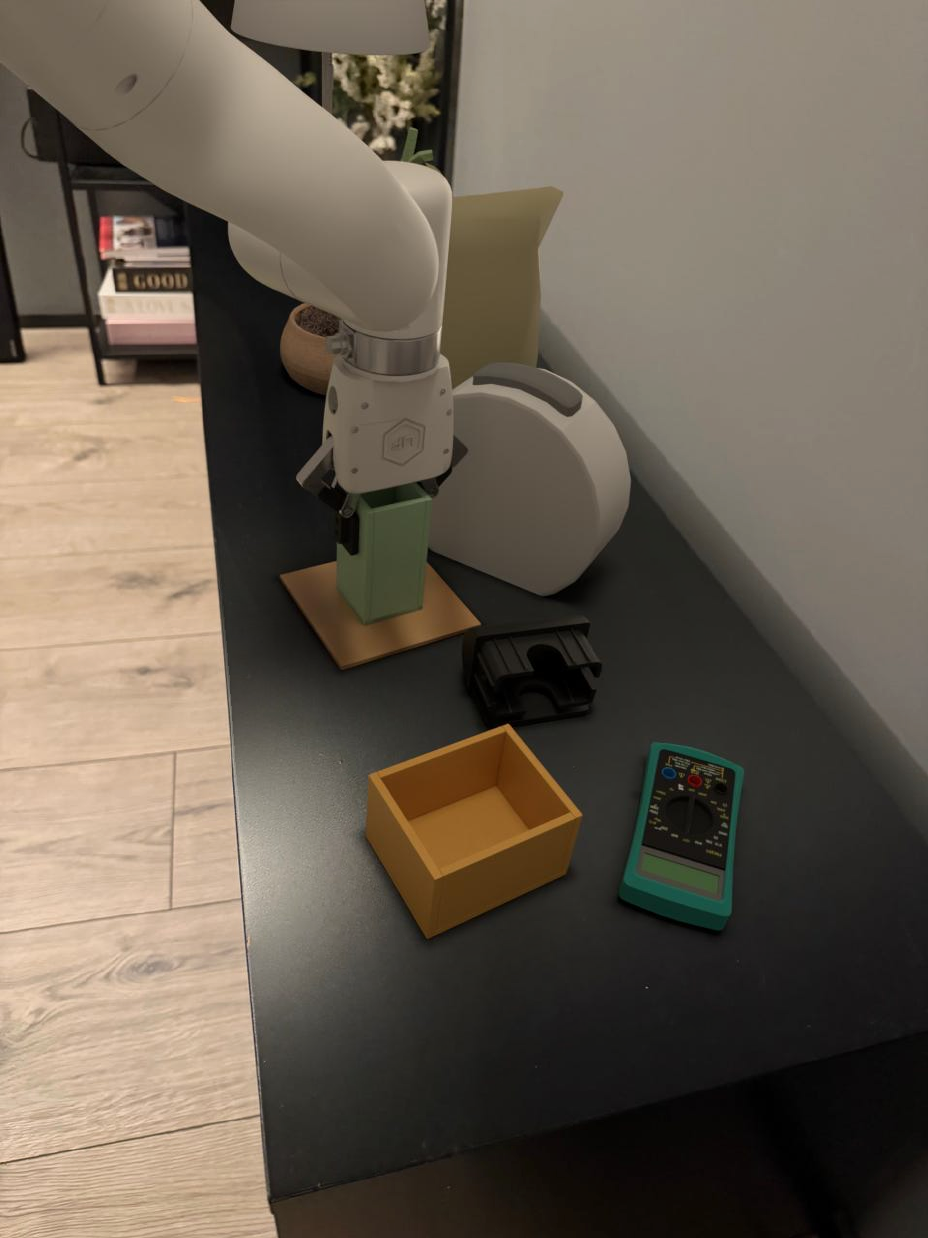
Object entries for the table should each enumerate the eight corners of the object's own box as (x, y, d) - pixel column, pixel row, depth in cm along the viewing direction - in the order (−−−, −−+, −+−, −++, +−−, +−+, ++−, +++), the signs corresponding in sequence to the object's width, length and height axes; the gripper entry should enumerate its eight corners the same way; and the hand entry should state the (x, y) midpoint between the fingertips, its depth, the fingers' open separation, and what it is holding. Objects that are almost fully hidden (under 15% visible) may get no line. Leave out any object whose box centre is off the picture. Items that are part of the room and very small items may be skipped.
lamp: (248, 289, 142) (230, -53, 115) (239, 228, 164) (222, -72, 137) (432, 291, 149) (456, -31, 122) (400, 232, 171) (414, -53, 144)
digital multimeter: (737, 781, 73) (747, 756, 71) (721, 939, 62) (733, 914, 60) (646, 755, 75) (654, 730, 73) (614, 905, 63) (623, 880, 61)
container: (506, 417, 118) (541, 163, 99) (553, 487, 105) (604, 212, 86) (318, 428, 111) (318, 156, 92) (346, 503, 99) (352, 209, 80)
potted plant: (288, 409, 114) (282, 143, 95) (274, 348, 127) (266, 103, 108) (465, 405, 119) (492, 152, 100) (433, 346, 132) (452, 114, 114)
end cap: (563, 658, 83) (576, 599, 78) (594, 714, 78) (610, 654, 73) (457, 673, 80) (464, 612, 76) (482, 731, 75) (492, 670, 70)
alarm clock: (611, 575, 93) (656, 394, 81) (582, 613, 88) (625, 425, 76) (431, 504, 100) (447, 327, 88) (394, 535, 95) (405, 352, 82)
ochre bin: (426, 940, 60) (434, 880, 56) (365, 835, 66) (368, 774, 62) (566, 874, 65) (583, 815, 61) (497, 783, 71) (508, 723, 67)
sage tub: (363, 626, 83) (368, 513, 75) (336, 588, 86) (337, 477, 79) (422, 609, 85) (432, 498, 78) (393, 573, 89) (399, 464, 82)
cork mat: (341, 670, 79) (341, 666, 78) (279, 579, 88) (279, 574, 87) (480, 627, 85) (481, 623, 85) (410, 546, 94) (410, 542, 93)
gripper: (304, 380, 64) (307, 586, 75) (512, 348, 72) (486, 539, 83) (265, 338, 69) (273, 537, 80) (463, 312, 76) (445, 497, 88)
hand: (382, 536), depth 81 cm, fingers closed on sage tub, 6 cm apart
